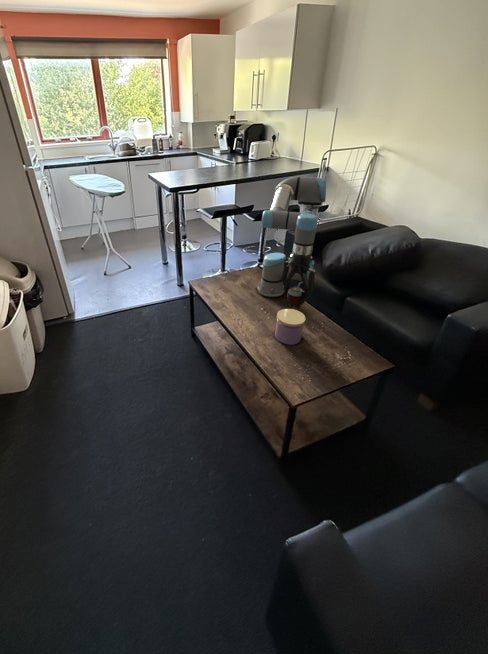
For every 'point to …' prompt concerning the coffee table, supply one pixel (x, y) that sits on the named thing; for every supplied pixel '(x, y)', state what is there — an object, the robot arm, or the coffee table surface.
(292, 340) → the jar
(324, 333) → the coffee table surface
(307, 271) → the robot arm
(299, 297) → the mate gourd
